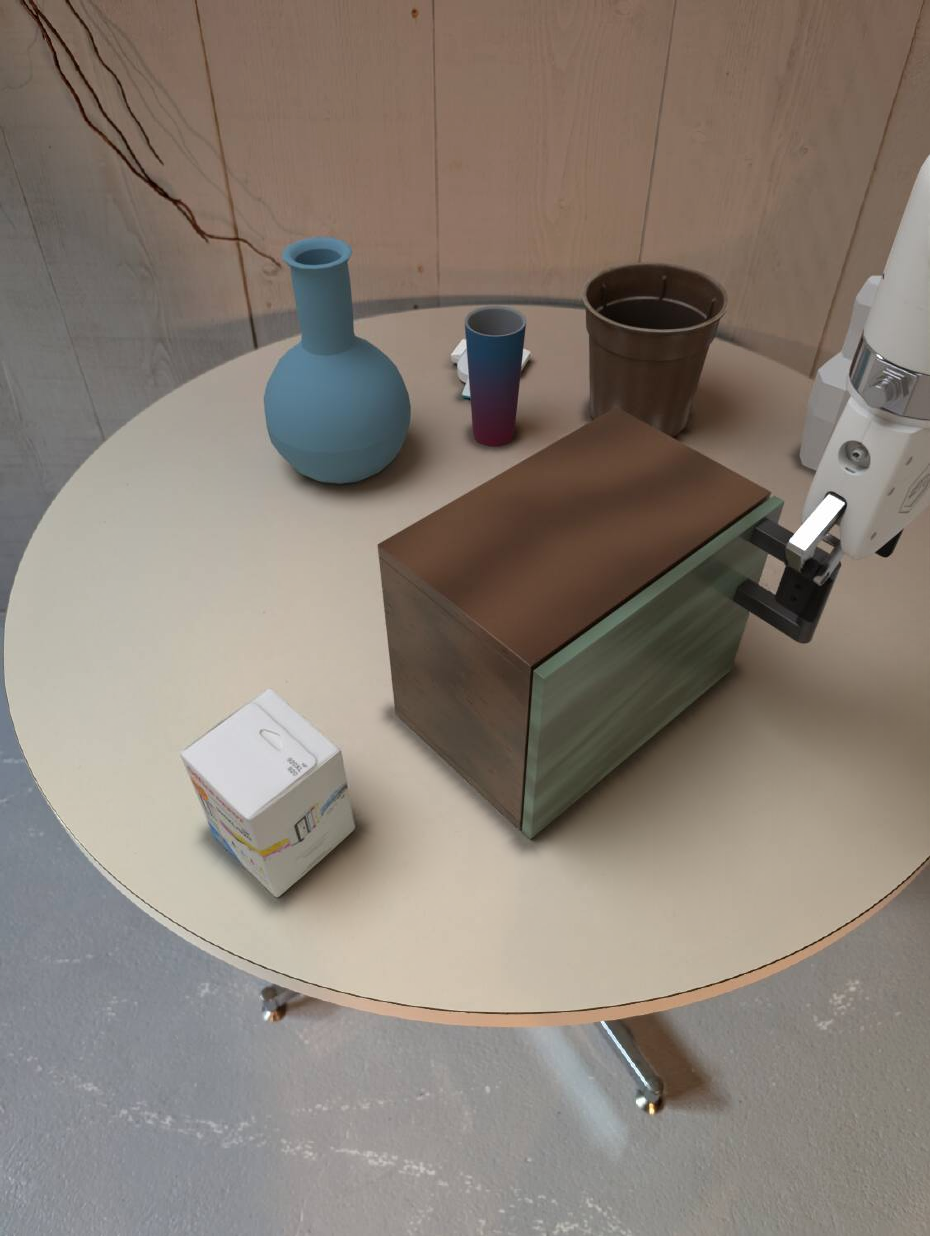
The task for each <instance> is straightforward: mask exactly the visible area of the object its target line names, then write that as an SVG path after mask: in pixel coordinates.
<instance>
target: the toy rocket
mask: <svg viewBox="0 0 930 1236" xmlns="http://www.w3.org/2000/svg"><path fill="white" fill-rule="evenodd" d="M450 358H451V359H450V362H453V363H455V364H457V365H456V367H457V369H456V370H457V377H458V379H459V380H460V381H462V382H463V383H465V386H464V388H463V390H462V393H461V396H462V398H465V399H470V386H469V373H468V360H467V347H466V338H463V339H461V340H460V342H458V344H457V345H456V347H455V349H454V350H453V351H452V353H451V354H450ZM530 358H531V351H530V350H529V349H526V348H523V357H522V366H521V372H522V371H523V369H524V368H525V367H526V365H527V363H528V361H529V360H530Z"/></svg>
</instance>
